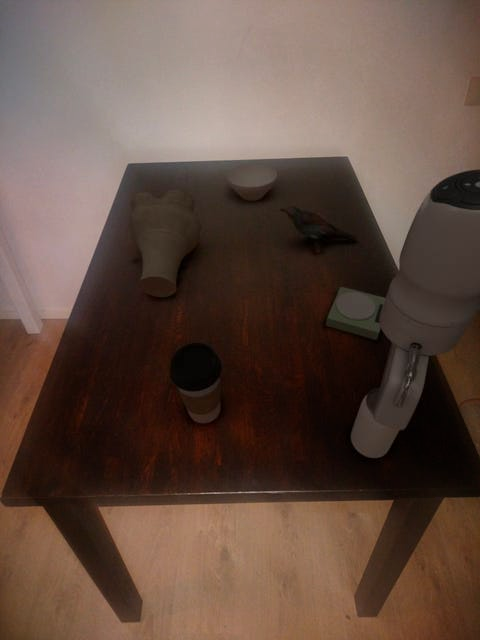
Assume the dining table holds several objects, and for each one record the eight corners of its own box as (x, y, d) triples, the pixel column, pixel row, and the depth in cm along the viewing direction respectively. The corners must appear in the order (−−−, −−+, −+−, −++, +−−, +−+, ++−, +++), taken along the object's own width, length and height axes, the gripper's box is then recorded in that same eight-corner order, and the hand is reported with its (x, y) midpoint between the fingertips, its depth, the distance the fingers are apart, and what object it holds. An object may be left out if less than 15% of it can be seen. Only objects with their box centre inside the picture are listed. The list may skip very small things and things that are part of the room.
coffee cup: (179, 430, 68) (163, 382, 57) (184, 390, 74) (170, 339, 63) (226, 429, 68) (219, 381, 57) (227, 389, 74) (221, 338, 63)
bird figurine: (351, 227, 108) (322, 172, 95) (362, 248, 102) (332, 192, 89) (309, 250, 113) (276, 202, 100) (317, 272, 106) (282, 223, 93)
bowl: (222, 188, 129) (221, 167, 124) (267, 180, 132) (268, 160, 127) (235, 211, 119) (233, 190, 114) (283, 202, 121) (284, 181, 116)
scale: (386, 306, 87) (389, 296, 85) (376, 340, 80) (379, 330, 78) (339, 294, 91) (340, 284, 89) (325, 325, 84) (327, 315, 82)
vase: (197, 276, 77) (207, 180, 91) (88, 266, 76) (114, 170, 89) (196, 326, 96) (204, 241, 110) (108, 319, 94) (127, 233, 108)
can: (343, 429, 67) (355, 392, 58) (376, 419, 68) (392, 380, 59) (362, 464, 63) (378, 429, 54) (397, 452, 64) (418, 415, 55)
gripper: (443, 399, 36) (402, 460, 46) (459, 270, 48) (425, 341, 58) (375, 376, 38) (350, 440, 48) (407, 258, 50) (382, 329, 60)
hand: (391, 385), depth 53 cm, fingers open, 8 cm apart
